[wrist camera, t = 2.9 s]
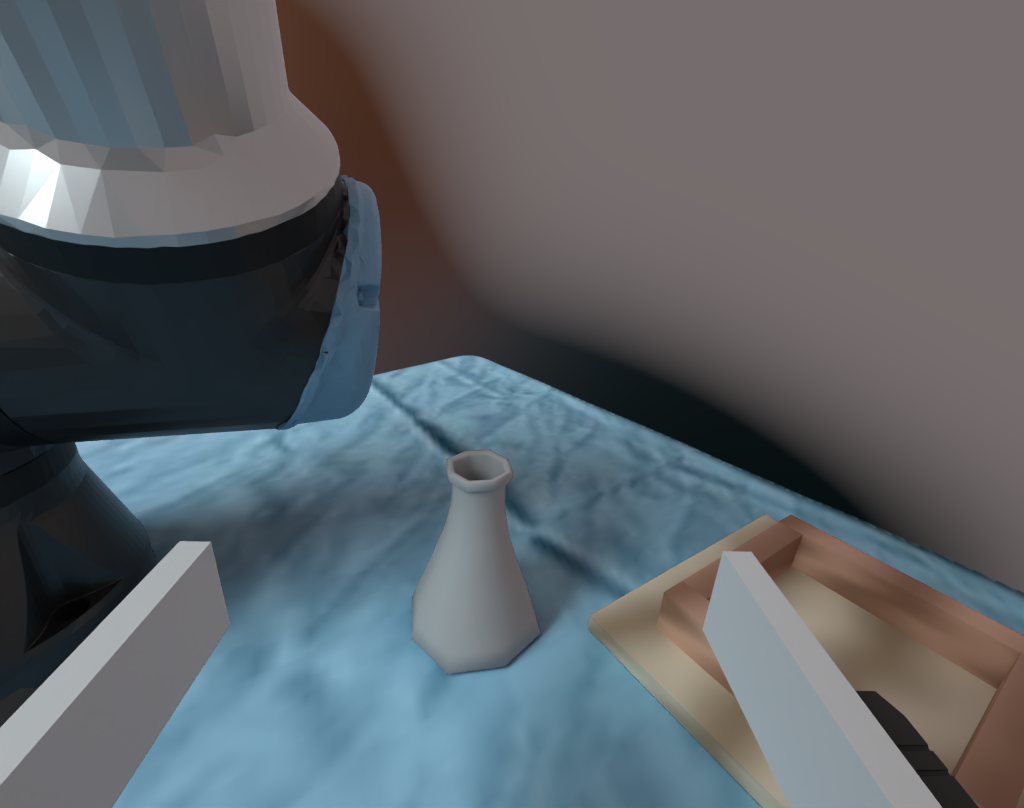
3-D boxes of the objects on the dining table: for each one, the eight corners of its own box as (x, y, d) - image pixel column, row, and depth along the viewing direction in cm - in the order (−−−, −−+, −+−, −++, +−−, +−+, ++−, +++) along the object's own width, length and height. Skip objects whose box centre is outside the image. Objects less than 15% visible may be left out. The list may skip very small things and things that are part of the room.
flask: (563, 643, 26) (584, 486, 22) (436, 702, 22) (434, 528, 18) (500, 559, 31) (509, 422, 28) (392, 595, 28) (384, 445, 24)
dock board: (587, 628, 27) (595, 580, 25) (761, 525, 36) (773, 486, 35) (1034, 1085, 13) (1103, 1035, 12) (1120, 727, 23) (1163, 676, 22)
